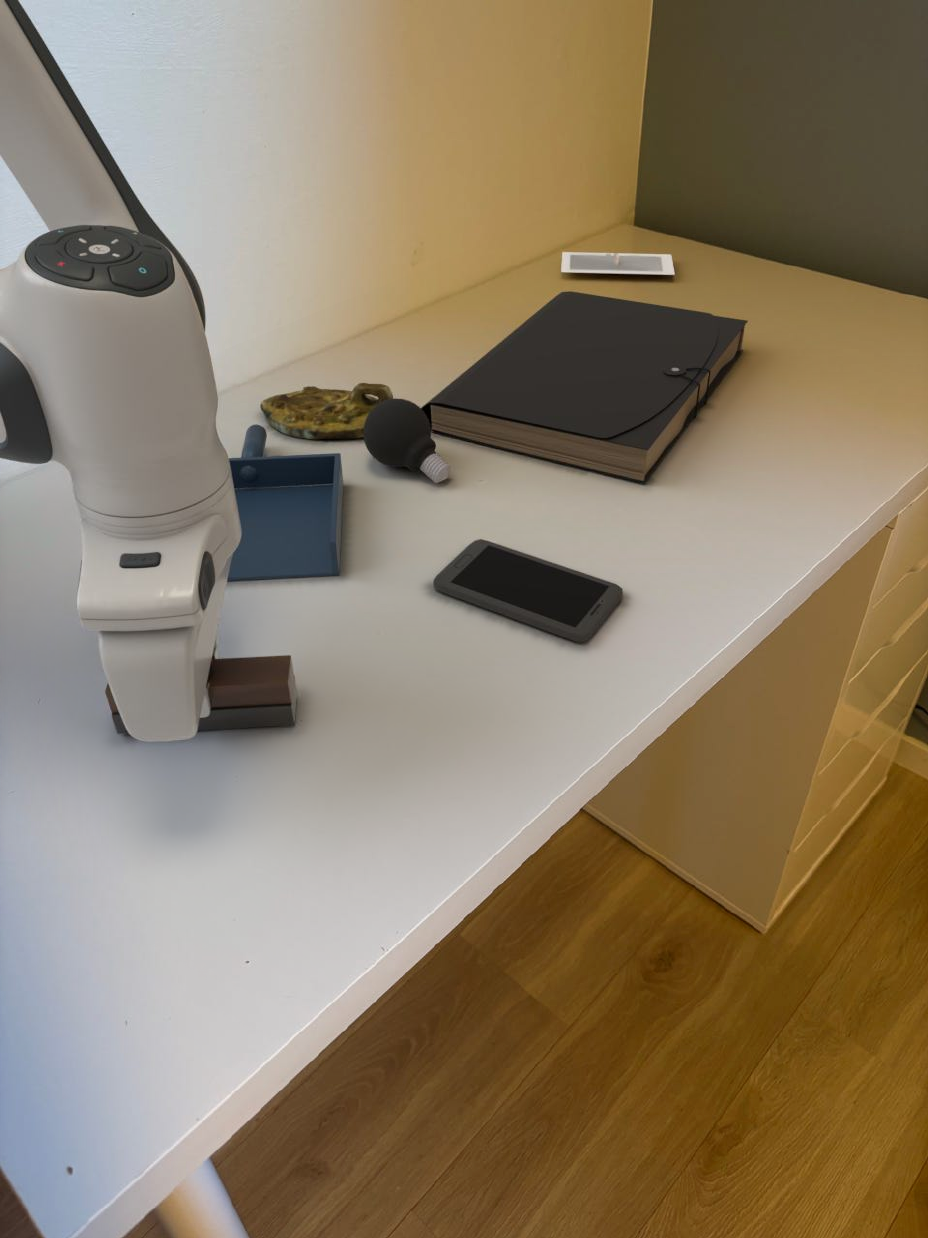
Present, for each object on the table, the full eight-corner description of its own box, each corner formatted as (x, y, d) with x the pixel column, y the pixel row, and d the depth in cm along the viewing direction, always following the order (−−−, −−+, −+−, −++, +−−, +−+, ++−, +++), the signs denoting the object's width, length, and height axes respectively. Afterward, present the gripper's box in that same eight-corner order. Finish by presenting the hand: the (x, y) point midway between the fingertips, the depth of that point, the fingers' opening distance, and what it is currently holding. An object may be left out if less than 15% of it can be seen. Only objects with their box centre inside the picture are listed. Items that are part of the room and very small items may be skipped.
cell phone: (476, 543, 85) (476, 536, 84) (626, 594, 79) (627, 586, 79) (429, 588, 80) (429, 580, 80) (585, 645, 74) (585, 638, 74)
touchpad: (673, 282, 132) (675, 266, 131) (560, 279, 133) (561, 263, 132) (670, 262, 138) (672, 246, 137) (562, 259, 139) (562, 244, 138)
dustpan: (339, 575, 82) (335, 542, 80) (130, 586, 81) (121, 552, 79) (345, 442, 99) (342, 412, 97) (173, 450, 99) (167, 419, 96)
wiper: (294, 725, 68) (284, 661, 64) (117, 734, 68) (96, 671, 64) (297, 693, 71) (287, 630, 67) (126, 701, 70) (107, 639, 66)
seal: (248, 444, 101) (392, 452, 99) (239, 404, 98) (387, 412, 96) (274, 394, 108) (409, 400, 106) (266, 355, 104) (406, 361, 102)
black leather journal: (650, 446, 90) (419, 395, 99) (646, 485, 92) (421, 432, 101) (750, 317, 112) (554, 286, 121) (744, 352, 115) (553, 318, 124)
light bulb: (439, 459, 88) (363, 390, 91) (412, 512, 92) (340, 445, 95) (481, 444, 93) (408, 379, 95) (454, 495, 97) (384, 431, 99)
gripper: (141, 435, 67) (180, 598, 76) (67, 628, 51) (126, 806, 60) (236, 431, 67) (263, 594, 76) (191, 623, 51) (232, 800, 60)
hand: (203, 689), depth 68 cm, fingers closed on wiper, 3 cm apart
